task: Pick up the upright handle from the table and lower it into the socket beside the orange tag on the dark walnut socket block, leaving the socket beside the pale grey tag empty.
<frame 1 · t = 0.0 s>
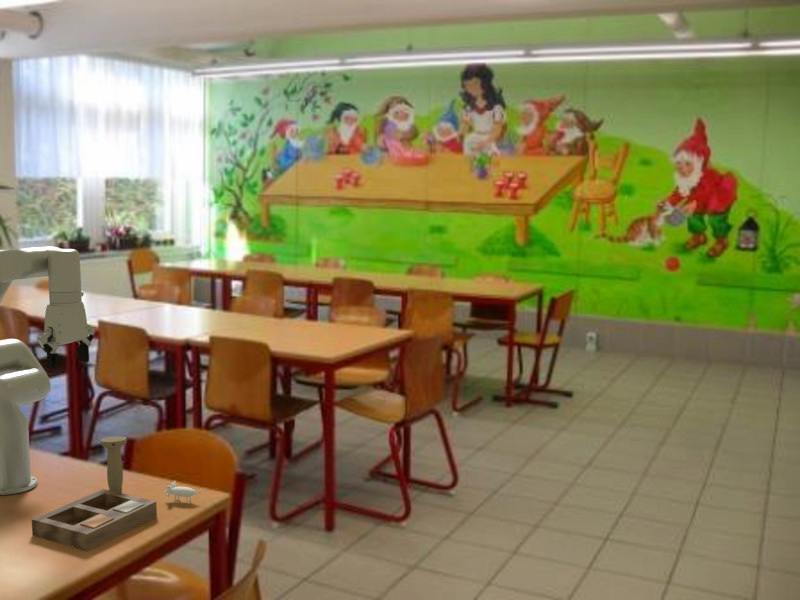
hand: (68, 364, 208), 37 cm above the table, tool pointing down, fingers open, 9 cm apart
white animal figurine: (186, 502, 215), on the table
socket block: (96, 525, 199), on the table
handle: (115, 493, 220), on the table
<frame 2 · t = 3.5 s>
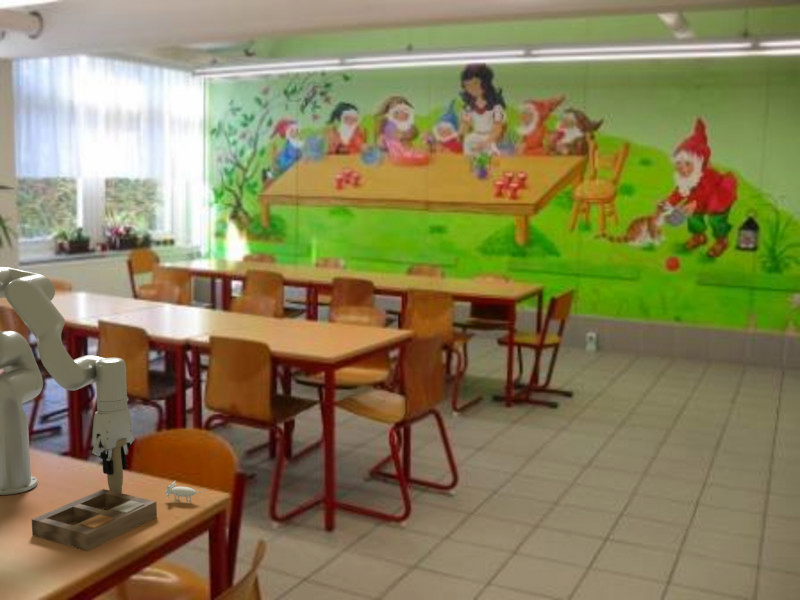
hand: (114, 470, 219), 6 cm above the table, tool pointing down, fingers closed on handle, 3 cm apart
handle: (115, 493, 220), on the table, touching gripper
everything else where it was.
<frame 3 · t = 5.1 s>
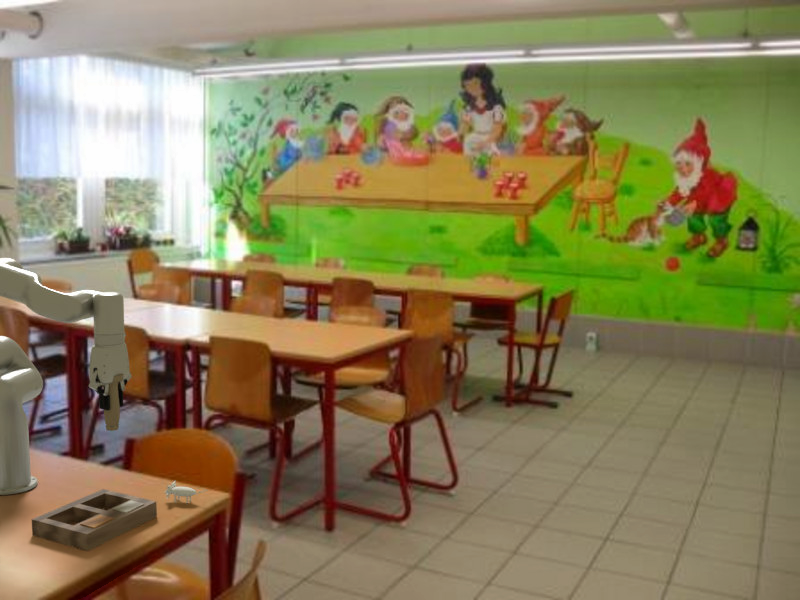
hand: (111, 406, 217), 24 cm above the table, tool pointing down, fingers closed on handle, 3 cm apart
handle: (112, 430, 218), point 17 cm above the table, touching gripper
everything else where it was.
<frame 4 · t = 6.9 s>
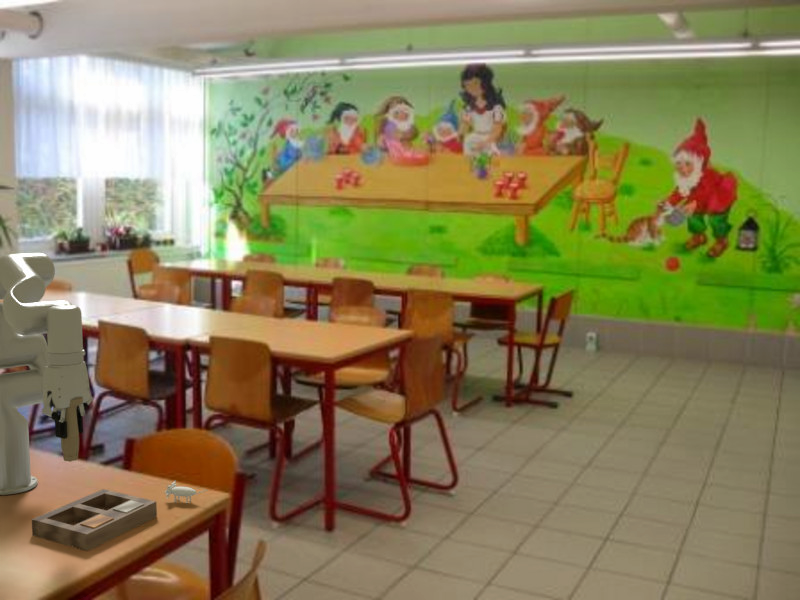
hand: (69, 434, 192), 24 cm above the table, tool pointing down, fingers closed on handle, 3 cm apart
handle: (70, 460, 193), point 18 cm above the table, touching gripper
everything else where it was.
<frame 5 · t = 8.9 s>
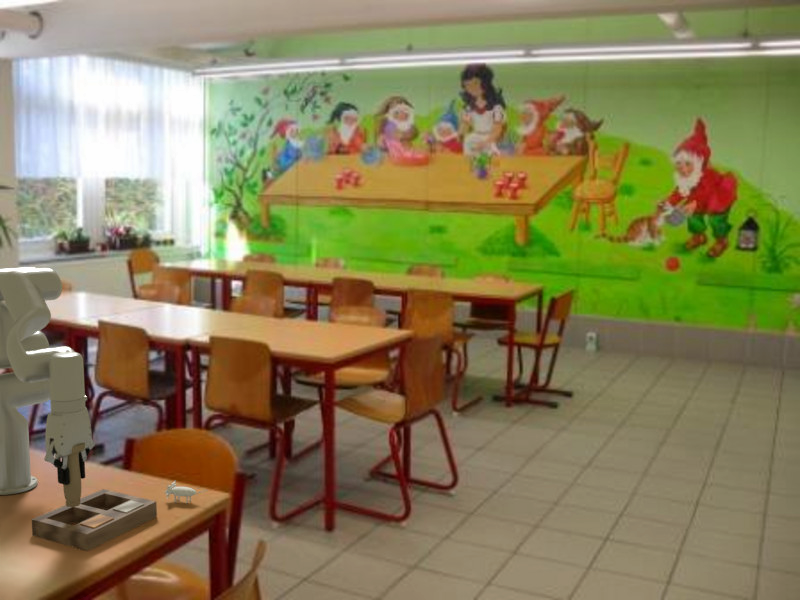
hand: (71, 479, 194), 13 cm above the table, tool pointing down, fingers closed on handle, 3 cm apart
handle: (73, 506, 195), point 6 cm above the table, touching gripper
everything else where it was.
when the fingers open (8 cm above the table, at t = 10.3 s): handle drops 1 cm, resting in socket block.
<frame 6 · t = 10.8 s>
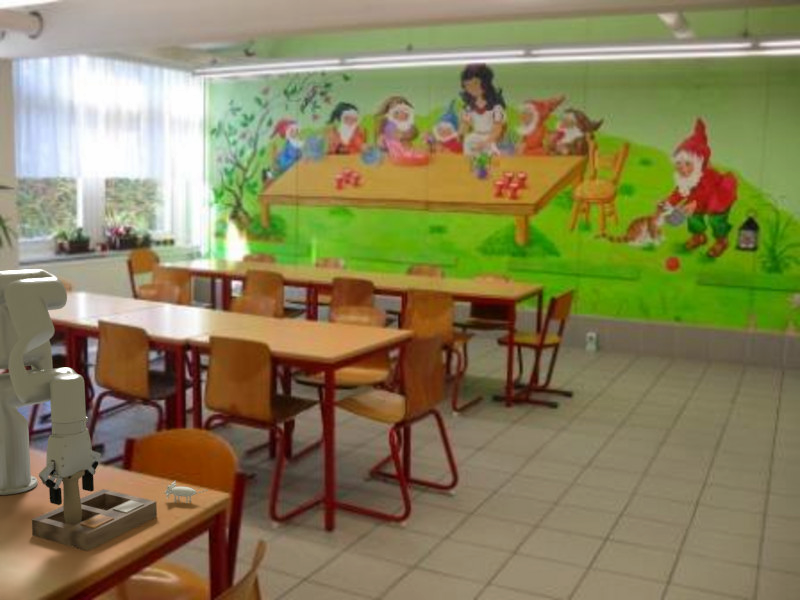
hand: (72, 496, 194), 9 cm above the table, tool pointing down, fingers open, 9 cm apart
handle: (74, 532, 196), resting in socket block
everything else where it was.
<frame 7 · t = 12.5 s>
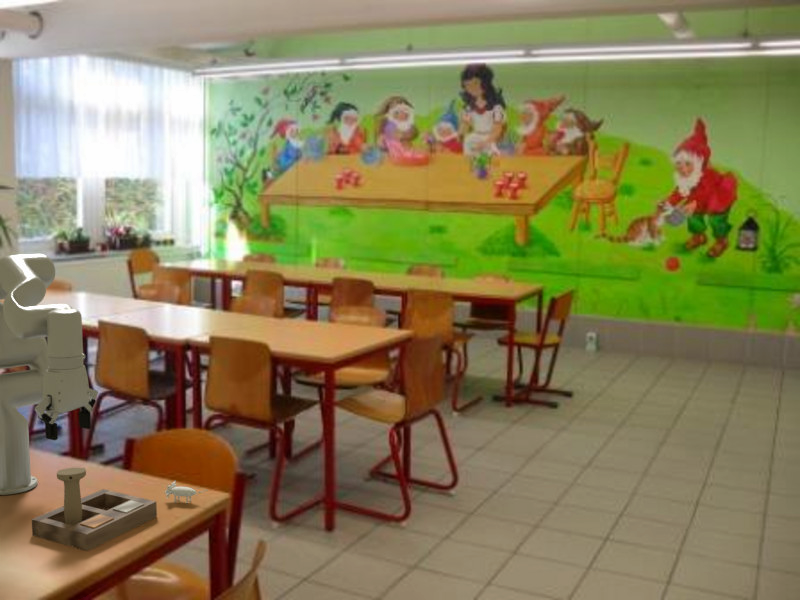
hand: (68, 433, 192), 24 cm above the table, tool pointing down, fingers open, 9 cm apart
nothing on the table moved.
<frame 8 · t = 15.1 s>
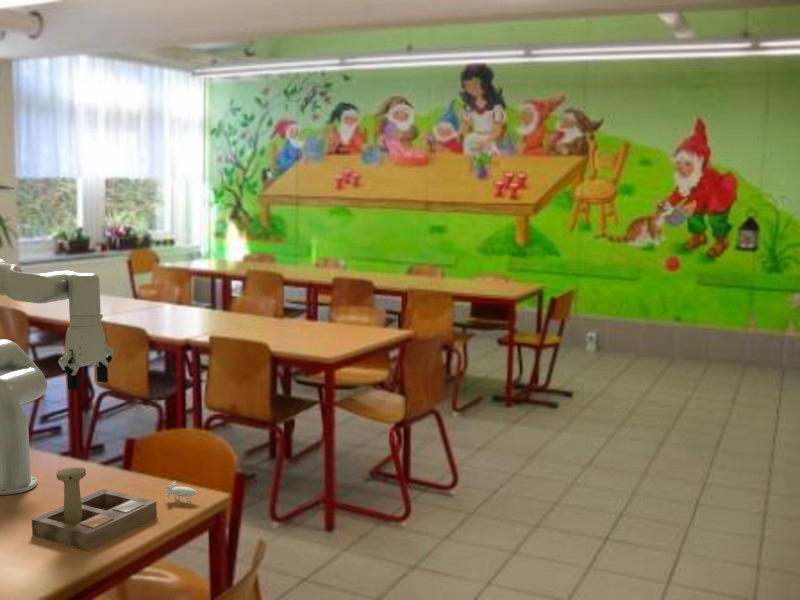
hand: (88, 385, 213), 30 cm above the table, tool pointing down, fingers open, 9 cm apart
nothing on the table moved.
at the end: handle 0.1 cm from the target spot on the socket block, point 0.0 cm above the socket block's base; handle tilted 0°; the gripper is holding nothing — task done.
